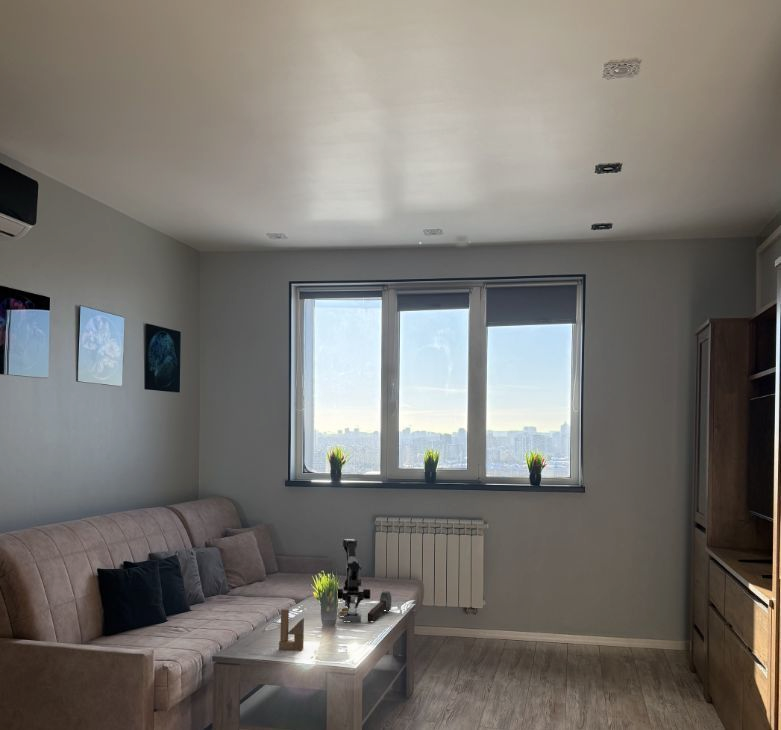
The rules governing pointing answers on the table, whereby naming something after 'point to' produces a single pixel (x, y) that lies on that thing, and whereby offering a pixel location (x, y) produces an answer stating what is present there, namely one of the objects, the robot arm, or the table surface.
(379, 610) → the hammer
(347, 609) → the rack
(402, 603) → the table surface
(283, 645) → the wooden block
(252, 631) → the table surface
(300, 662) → the table surface
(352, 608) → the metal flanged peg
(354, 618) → the socket
